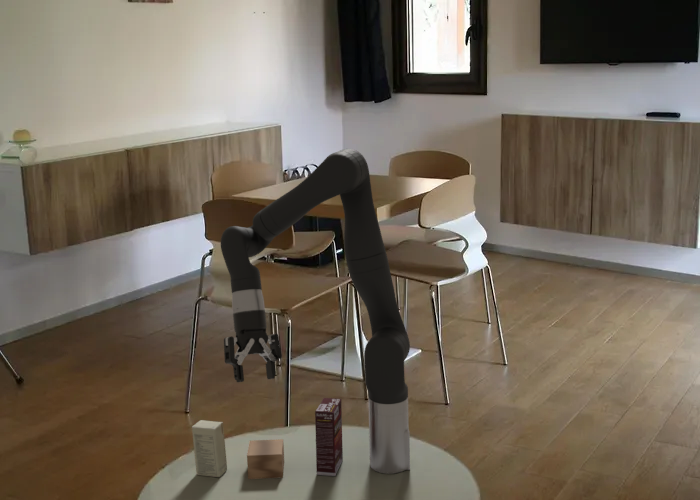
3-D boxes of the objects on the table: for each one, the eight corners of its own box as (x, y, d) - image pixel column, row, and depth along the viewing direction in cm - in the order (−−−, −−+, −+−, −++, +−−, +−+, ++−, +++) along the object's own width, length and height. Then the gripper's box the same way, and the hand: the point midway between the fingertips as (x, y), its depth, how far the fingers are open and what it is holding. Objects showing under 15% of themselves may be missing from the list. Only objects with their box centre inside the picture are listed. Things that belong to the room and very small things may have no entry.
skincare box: (227, 469, 207) (224, 421, 204) (219, 478, 203) (216, 429, 200) (203, 466, 209) (200, 418, 206) (194, 474, 205) (191, 426, 202)
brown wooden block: (284, 462, 210) (283, 439, 209) (282, 478, 203) (281, 454, 201) (251, 463, 210) (249, 440, 209) (248, 479, 202) (246, 455, 201)
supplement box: (336, 476, 202) (334, 412, 199) (316, 475, 203) (313, 411, 200) (344, 460, 210) (342, 398, 207) (324, 458, 211) (322, 397, 208)
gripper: (231, 309, 197) (238, 381, 195) (282, 307, 206) (290, 376, 204) (214, 314, 203) (220, 384, 200) (264, 312, 212) (271, 379, 209)
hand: (255, 380), depth 202 cm, fingers open, 8 cm apart
